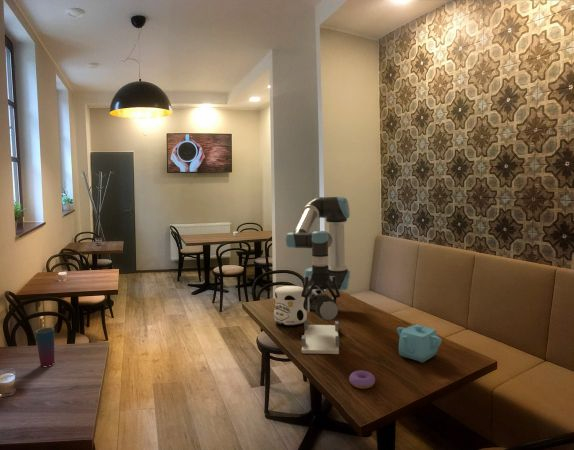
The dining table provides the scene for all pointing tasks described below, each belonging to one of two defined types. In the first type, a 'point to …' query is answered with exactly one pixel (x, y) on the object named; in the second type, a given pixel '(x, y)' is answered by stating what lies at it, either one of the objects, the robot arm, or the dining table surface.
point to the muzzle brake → (322, 303)
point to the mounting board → (320, 339)
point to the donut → (362, 379)
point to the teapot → (418, 342)
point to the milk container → (289, 306)
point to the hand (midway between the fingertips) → (320, 311)
